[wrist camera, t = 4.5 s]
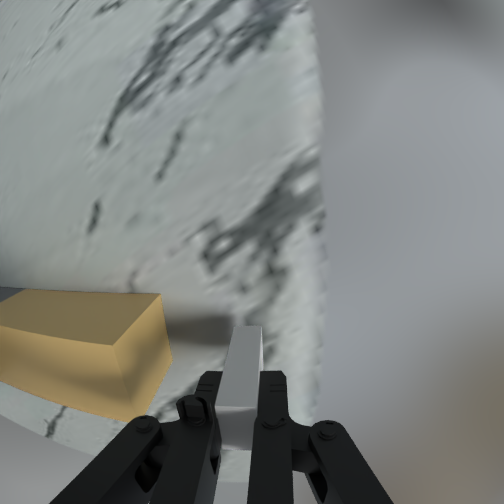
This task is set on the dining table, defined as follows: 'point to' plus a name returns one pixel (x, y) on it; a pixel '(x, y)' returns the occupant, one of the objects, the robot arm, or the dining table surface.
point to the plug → (85, 348)
